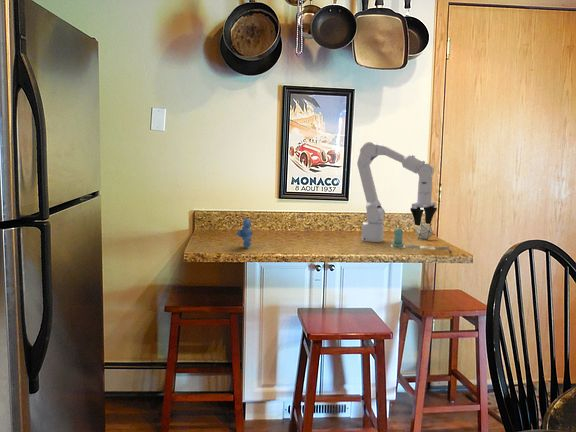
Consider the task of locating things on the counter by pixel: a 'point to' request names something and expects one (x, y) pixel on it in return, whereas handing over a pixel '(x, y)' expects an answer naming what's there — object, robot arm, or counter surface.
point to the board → (426, 247)
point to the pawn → (398, 238)
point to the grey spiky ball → (424, 231)
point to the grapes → (245, 233)
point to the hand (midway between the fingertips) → (422, 224)
